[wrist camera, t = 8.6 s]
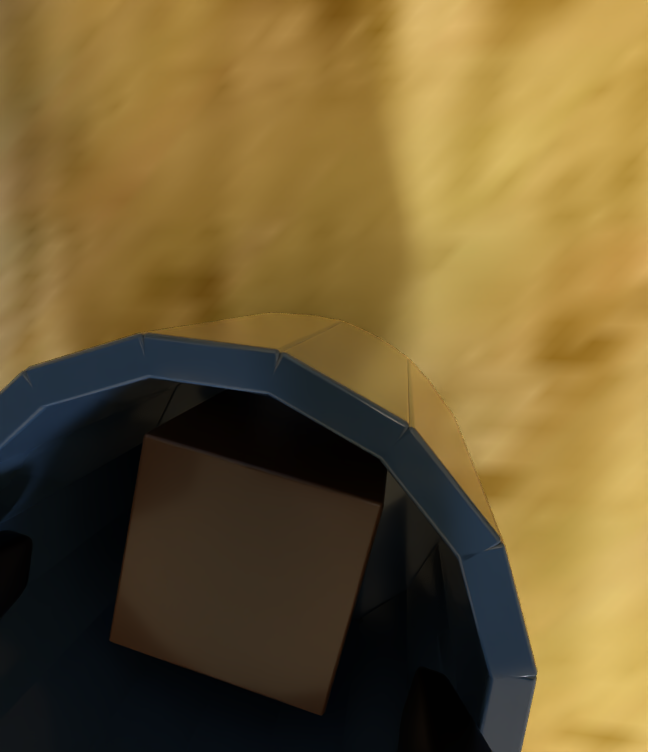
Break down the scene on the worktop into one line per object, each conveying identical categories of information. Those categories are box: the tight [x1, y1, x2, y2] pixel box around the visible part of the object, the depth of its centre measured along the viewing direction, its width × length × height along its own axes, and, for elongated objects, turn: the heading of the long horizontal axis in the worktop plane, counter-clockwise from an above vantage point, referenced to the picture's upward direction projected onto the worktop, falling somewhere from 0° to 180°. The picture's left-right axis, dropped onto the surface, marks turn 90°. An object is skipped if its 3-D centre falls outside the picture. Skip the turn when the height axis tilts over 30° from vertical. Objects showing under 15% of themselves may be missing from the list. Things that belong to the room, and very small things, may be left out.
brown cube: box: [109, 389, 387, 716], centre depth 11 cm, size 4×4×4 cm
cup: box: [0, 312, 537, 752], centre depth 10 cm, size 9×9×7 cm
